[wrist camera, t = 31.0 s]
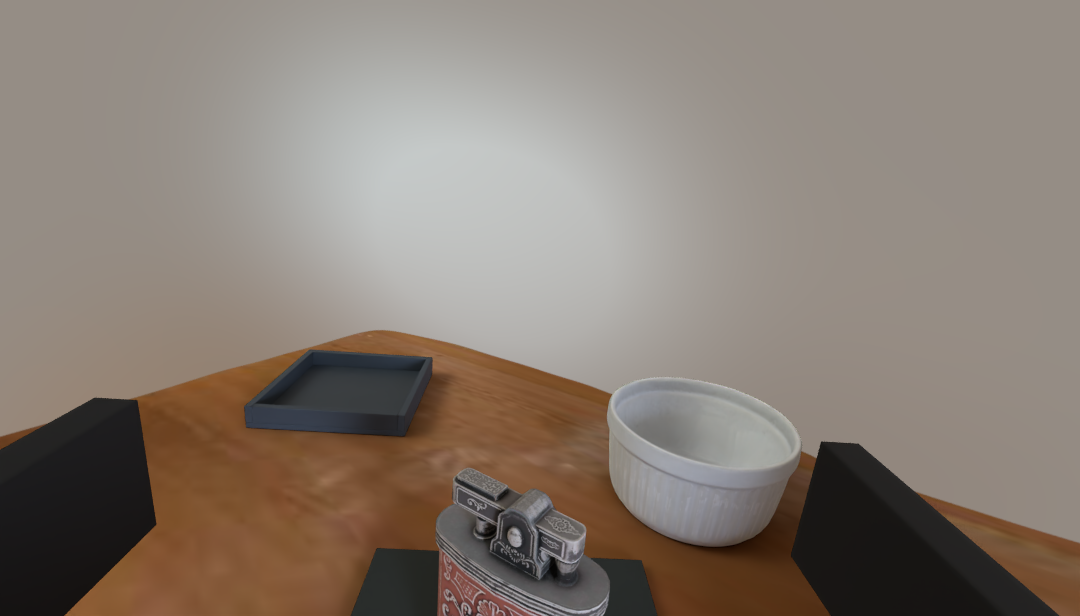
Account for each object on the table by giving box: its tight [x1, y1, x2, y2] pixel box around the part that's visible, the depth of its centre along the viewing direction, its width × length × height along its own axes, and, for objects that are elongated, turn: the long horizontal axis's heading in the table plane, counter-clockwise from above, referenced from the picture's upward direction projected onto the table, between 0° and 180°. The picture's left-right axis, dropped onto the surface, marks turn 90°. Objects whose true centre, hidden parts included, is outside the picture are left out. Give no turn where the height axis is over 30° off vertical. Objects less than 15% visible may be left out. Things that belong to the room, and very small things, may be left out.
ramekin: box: [607, 377, 802, 547], centre depth 37 cm, size 13×13×7 cm
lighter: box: [436, 468, 610, 616], centre depth 22 cm, size 8×3×10 cm, turn 57°
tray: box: [244, 350, 432, 436], centre depth 49 cm, size 13×13×2 cm
